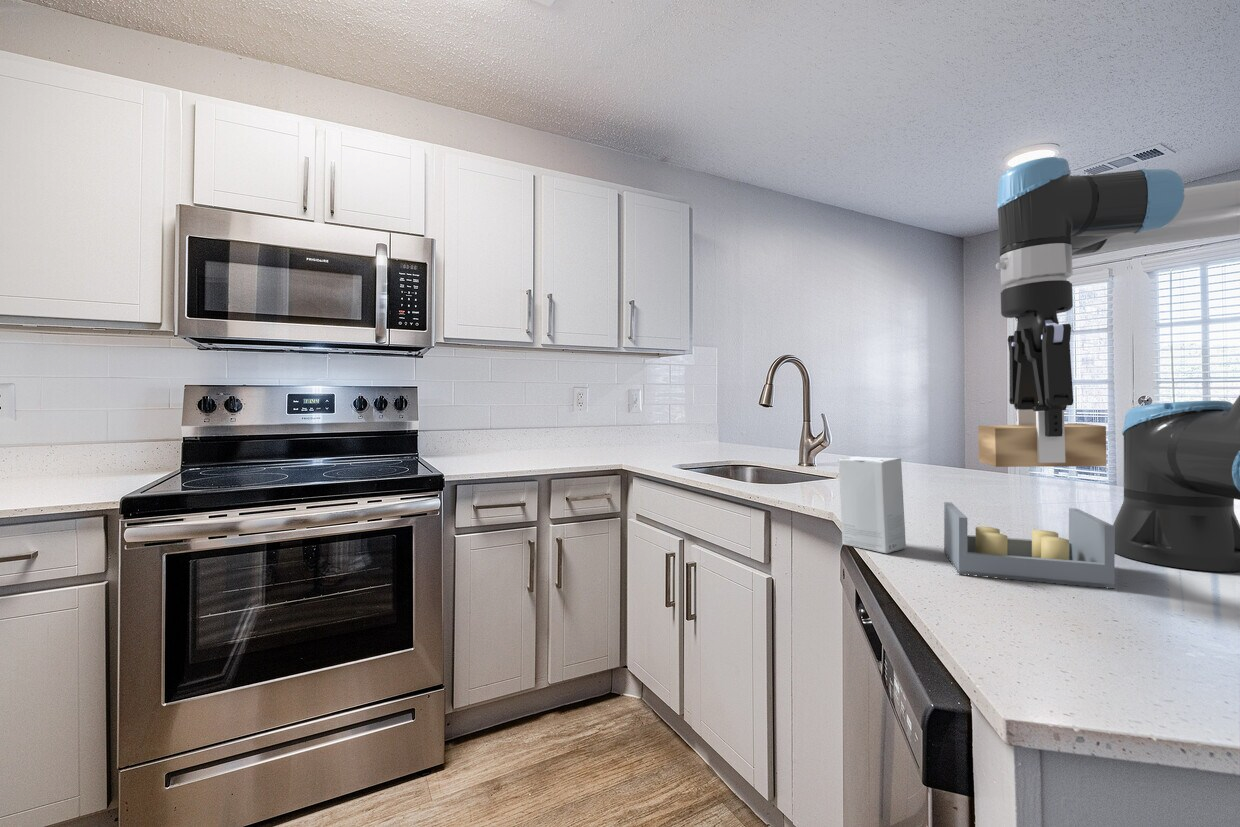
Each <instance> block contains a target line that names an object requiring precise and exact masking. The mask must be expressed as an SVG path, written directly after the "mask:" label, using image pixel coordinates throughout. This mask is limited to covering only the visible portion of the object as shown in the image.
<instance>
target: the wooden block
mask: <svg viewBox="0 0 1240 827" xmlns="http://www.w3.org/2000/svg"><path fill="white" fill-rule="evenodd" d="M977 428H978V429H977V430H978V431H977V432H978V433H977V434H978V437H977V438H978V461H979V462H980V463H983V464H986V465H989V466H992V467H995V468H1005V467H1006V468H1011V467H1012V468H1013V467H1015V468H1018V467H1019V468H1021V467H1022V468H1025V467H1027V468H1028V467H1029V468H1030V467H1033V468H1034V467H1035V468H1037V467H1043V468H1044V467H1045V468H1046V467H1049V468H1051V467H1053V468H1054V467H1063V468H1064V467H1107V465H1108V464H1107V426H1106V425H1099V424H1088V423H1064V429H1065V463H1039V462H1037V428H1036V425H1017V424H1006V425H1005V424H1002V425H1001V424H999V425H998V424H996V425H978V427H977Z"/></svg>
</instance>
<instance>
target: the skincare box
mask: <svg viewBox="0 0 1240 827" xmlns="http://www.w3.org/2000/svg"><path fill="white" fill-rule="evenodd" d="M902 471H903V470H902V458H900V457H881V456H880V457H879V456H877V457H874V456H858V455H857V456H851V457H845V458H840V459H838V478H839V480H838V481H839V495H840V496H839V499H840V500H839V502H840V517H841V537H842V538H841V539H842V542H841V543H842V545H844V546H850V547H854V548H858V549H859V548H860V549H864V550H869V551H875V552H877V553H883V554H890V553H893V552H896V551H902V550H904V549H906V547H907V543H906V525H905V524H906V523H905V522H906V521H905V508H904V507H905V505H904V490H903V489H904V487H903V472H902Z"/></svg>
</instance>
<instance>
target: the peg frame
mask: <svg viewBox="0 0 1240 827" xmlns="http://www.w3.org/2000/svg"><path fill="white" fill-rule="evenodd" d="M943 504H944V505H943V506H944V507H943V512H944V513H943V519H944V523H943V525H944V528H943V531H944V532H943V533H944V534H943V542H944V543H943V546H944V548H943V549H944V550H943V552H945V553H946V554H945V553H944V554H945V556H946V555H947V556H948V557H947V556H946V557H947V559H948V558H949V559H950V560H949V559H948V560H949V561H951V562H952V563H951V562H950V563H951V565H952V564H953V565H954V566H953V565H952V566H953V568H954V567H955V568H956V569H955V568H954V569H955V571H956V570H957V571H956V572H957V574H958V573H959V574H966V575H968V574H969V575H977V576H988V577H997V578H996V579H999V578H1007V579H1006V580H1009V579H1014V580H1013V581H1020V580H1023V582H1031V581H1037V582H1036V583H1042V582H1046V583H1045V584H1053V583H1056V584H1057V585H1064V584H1067V586H1075V585H1079V587H1086V586H1090V587H1089V588H1097V587H1108V588H1114V589H1115V580H1116V579H1115V574H1116V573H1115V571H1116V570H1115V557H1116V556H1115V555H1116V553H1115V526H1113V524H1111V523H1108V522H1106V521H1105V520H1103V519H1100V518H1098V517H1096V516H1094V515H1092V514H1090V513H1088V512H1085V511H1083V510H1081V509H1079V508H1076V507H1075V508H1074V507H1073V508H1072V507H1070V508H1068V539H1067V538H1064V537H1063V538H1062V537H1059V533H1058V532H1056V531H1051V530H1045V529H1043V530H1042V529H1033V530H1031V538H1029V539H1028V538H1015V537H1008V535H1005V534H1003V533H1001V530H1000V529H999V528H996V527H992V526H975V535H973V534H968V516H966V515H965V514H964V513H963V512H962V511H961V510H960V509H959V508H958V507H957V506H956V505H955V504H954V503H953V502H951V501H950V502H949V501H947V502H946V501H945V502H943ZM959 574H958V575H959ZM966 575H965V576H966ZM977 576H976V577H977ZM988 577H987V578H988ZM1108 588H1107V589H1108Z"/></svg>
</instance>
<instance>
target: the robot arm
mask: <svg viewBox="0 0 1240 827" xmlns="http://www.w3.org/2000/svg"><path fill="white" fill-rule="evenodd" d="M1069 164H1070V163H1069V161H1068V160H1067V159H1066V158H1064V157H1056V156H1048V157H1047V156H1046V157H1041V158H1036V159H1031V160H1028V161H1025V162H1023V163H1019V164H1017V165H1015V166H1013V167H1011V168H1009V169H1008V170H1007V171H1005V172H1004V173H1003V174H1002V175H1001V176H1000V178H999V180H998V186H997V187H998V189H997V204H996V205H997V206H996V211H997V217H998V218H997V220H998V240H999V242H998V243H999V261H998V262H997V263H996V264H995V268H996V270H997V271H998V270H999V271H1000V285H1001V286H1003V287H1004V289H1003V290H1002V291H1000V314H1001V316H1002V317H1003V318H1007V319H1009V318H1010V319H1013V318H1014V319H1017V322H1016V323H1017V324H1016V330H1015V331H1014V333H1013V335H1008V337H1007V344H1008V351H1009V353H1008V355H1009V357H1008V358H1009V359H1008V360H1009V399H1008V401H1009V404H1010V405H1013V407H1014V409H1015V410H1016V412H1015V414H1016V425H1036V428H1037V462H1039V463H1065V429H1064V424H1065V411H1066V409H1067V407H1068V406H1073V404H1074V391H1073V390H1074V389H1073V372H1072V359H1071V334H1072V325H1071V324H1070V323H1063V324H1062V323H1060V322H1059V319H1058V314H1062V313H1067V312H1069V311H1070V310H1072V308H1073V307H1074V305H1073V304H1074V302H1073V283H1072V282H1071V281H1069V280H1068V279H1069V278H1071V277H1072V275H1074V274H1073V256H1080V255H1087V254H1092V253H1100V252H1107V251H1108V252H1109V251H1114V250H1117V251H1118V250H1123V249H1124V250H1125V249H1131V248H1132V249H1133V248H1139V247H1140V248H1141V247H1147V246H1154V245H1155V246H1156V245H1163V244H1164V245H1165V244H1170V243H1177V242H1178V243H1180V242H1185V241H1194V240H1202V239H1209V238H1217V237H1224V236H1225V237H1226V236H1232V235H1240V180H1233V181H1227V182H1226V181H1225V182H1220V183H1219V182H1218V183H1211V184H1206V185H1200V186H1199V185H1198V186H1191V187H1185V182H1184V180H1183V178H1182V177H1181V175H1180V174H1179V173H1178V172H1176V171H1175V170H1172V169H1168V168H1160V169H1158V168H1157V169H1155V168H1154V169H1153V168H1152V169H1145V168H1138V169H1135V170H1128V171H1119V172H1118V171H1117V172H1116V171H1115V172H1108V173H1107V172H1106V173H1097V174H1088V175H1077V174H1076V175H1071V170H1070V169H1071V168H1070V165H1069ZM1005 287H1006V288H1005ZM1059 323H1060V324H1059ZM1121 433H1122V434H1121V435H1122V436H1123V499H1122V500H1123V502H1122V504H1121V506H1120V509H1119V510H1118V512H1117V515H1116V517H1115V519H1114V522H1113V524H1112V525H1113V526H1115V555H1116V554H1117V555H1118V556H1119V555H1120V556H1122V557H1125V558H1129V559H1131V560H1136V561H1139V562H1144V563H1149V564H1155V565H1160V566H1165V567H1170V568H1171V567H1172V568H1173V567H1174V568H1178V569H1179V568H1180V569H1186V570H1187V569H1188V570H1196V571H1205V572H1207V571H1208V572H1228V573H1230V572H1233V573H1234V572H1240V522H1239V520H1238V518H1237V515H1236V513H1235V500H1240V394H1239V395H1238V397H1237V398H1236V399H1235V401H1234V403H1232V402H1231V401H1226V400H1191V401H1177V402H1176V401H1175V402H1160V403H1152V404H1145V405H1140V406H1135V407H1132V408H1131V409H1129V410H1128V411H1126V414H1125V416H1124V424H1123V429H1122V431H1121Z"/></svg>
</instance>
